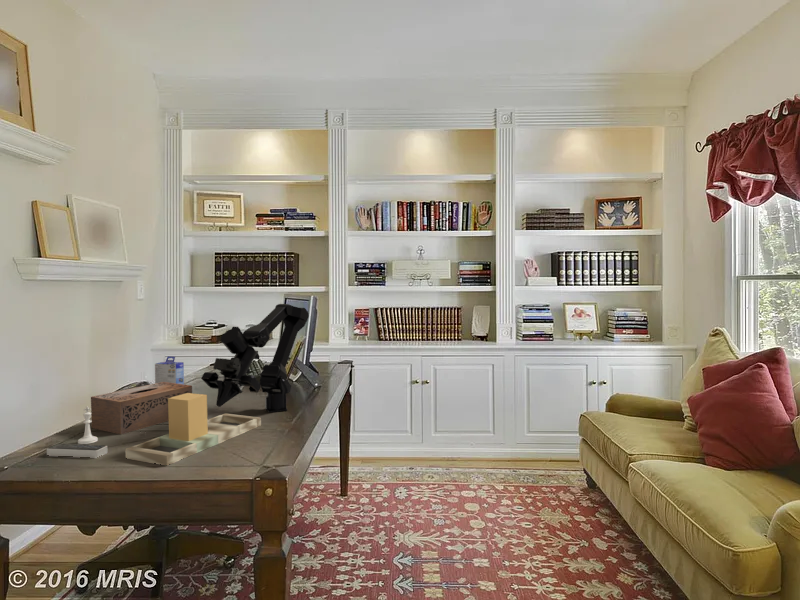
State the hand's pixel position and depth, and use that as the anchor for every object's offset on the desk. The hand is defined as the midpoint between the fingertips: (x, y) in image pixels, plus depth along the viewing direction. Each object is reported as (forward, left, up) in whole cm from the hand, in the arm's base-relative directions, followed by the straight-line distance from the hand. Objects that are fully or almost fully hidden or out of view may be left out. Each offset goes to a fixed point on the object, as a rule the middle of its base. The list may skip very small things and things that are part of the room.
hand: (218, 406), depth 154 cm
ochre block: (+8, +8, -6) cm, 13 cm away
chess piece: (+35, -6, -8) cm, 36 cm away
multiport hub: (+35, +5, -9) cm, 37 cm away
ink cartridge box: (+15, -65, -8) cm, 68 cm away
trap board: (+5, +5, -8) cm, 11 cm away
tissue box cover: (+21, -24, -9) cm, 33 cm away
